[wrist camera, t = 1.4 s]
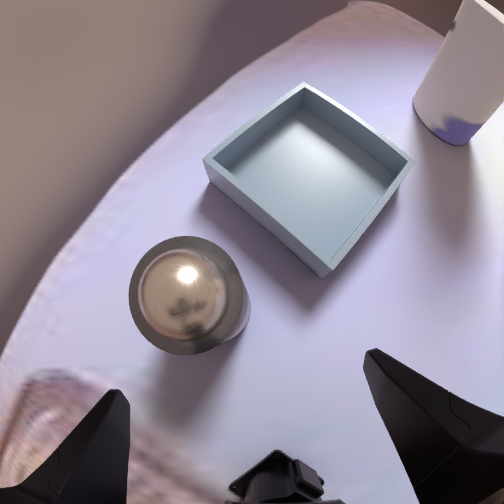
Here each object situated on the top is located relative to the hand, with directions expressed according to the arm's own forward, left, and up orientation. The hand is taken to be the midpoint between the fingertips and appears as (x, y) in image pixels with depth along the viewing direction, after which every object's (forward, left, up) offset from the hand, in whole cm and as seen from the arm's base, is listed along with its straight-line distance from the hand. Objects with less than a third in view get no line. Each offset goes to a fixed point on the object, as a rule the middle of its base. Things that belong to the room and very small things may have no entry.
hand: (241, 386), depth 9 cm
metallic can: (0, +5, -14) cm, 15 cm away
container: (+38, 0, -15) cm, 41 cm away
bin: (+15, +7, -14) cm, 22 cm away
